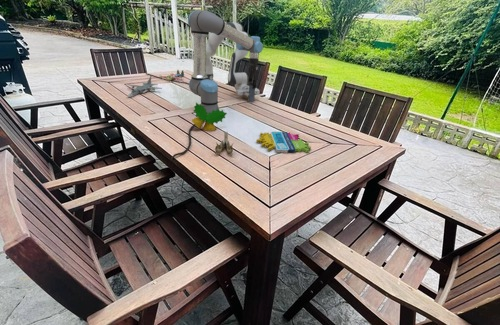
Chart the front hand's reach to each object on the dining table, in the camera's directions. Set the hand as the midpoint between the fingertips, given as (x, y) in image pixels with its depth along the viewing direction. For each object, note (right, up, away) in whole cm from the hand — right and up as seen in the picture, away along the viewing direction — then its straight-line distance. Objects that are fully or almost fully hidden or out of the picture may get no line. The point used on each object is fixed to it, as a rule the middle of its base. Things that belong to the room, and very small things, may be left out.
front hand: (252, 87), depth 217 cm
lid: (0, +3, -2) cm, 4 cm away
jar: (-1, -11, +6) cm, 12 cm away
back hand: (0, -5, +2) cm, 6 cm away
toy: (-83, +27, +63) cm, 107 cm away
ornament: (-27, -41, -53) cm, 72 cm away
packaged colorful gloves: (+17, -51, -65) cm, 85 cm away
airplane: (-95, -2, +10) cm, 95 cm away
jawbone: (-15, -57, -79) cm, 99 cm away
